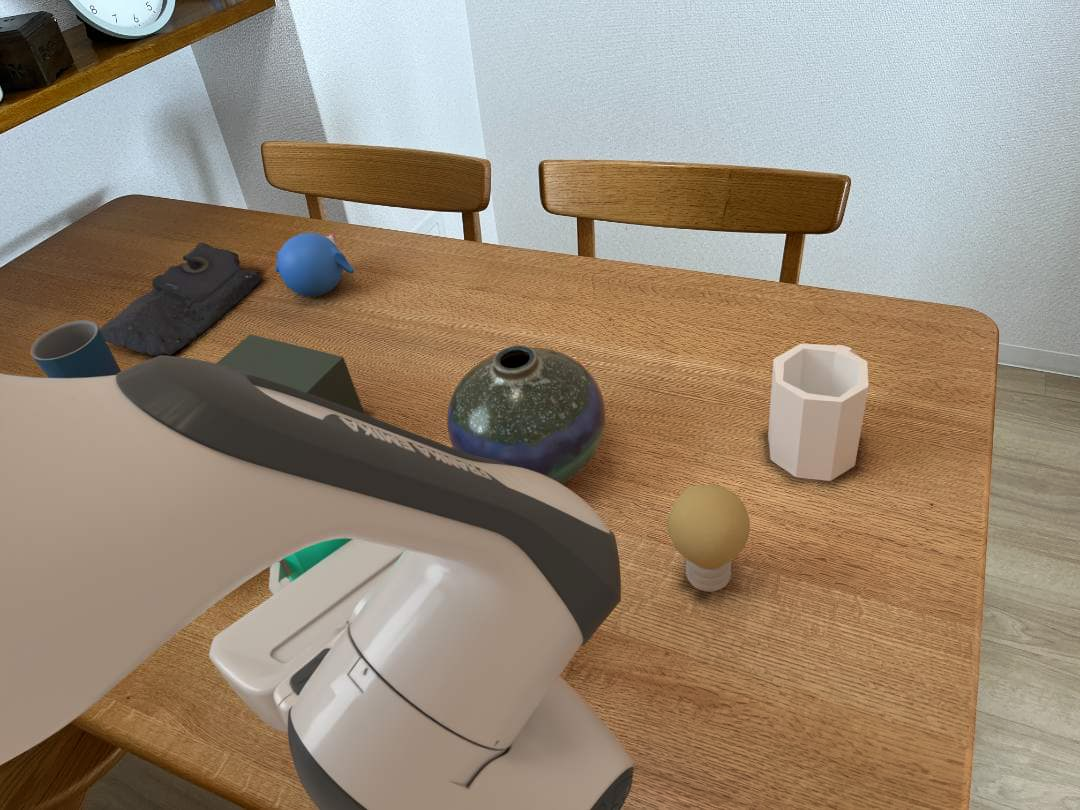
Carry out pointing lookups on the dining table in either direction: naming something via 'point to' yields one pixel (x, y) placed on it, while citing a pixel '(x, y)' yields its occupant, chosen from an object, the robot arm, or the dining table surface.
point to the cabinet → (296, 369)
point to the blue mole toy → (311, 264)
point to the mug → (817, 410)
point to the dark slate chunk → (182, 302)
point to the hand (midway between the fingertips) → (309, 530)
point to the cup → (74, 352)
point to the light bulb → (708, 533)
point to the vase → (529, 412)
